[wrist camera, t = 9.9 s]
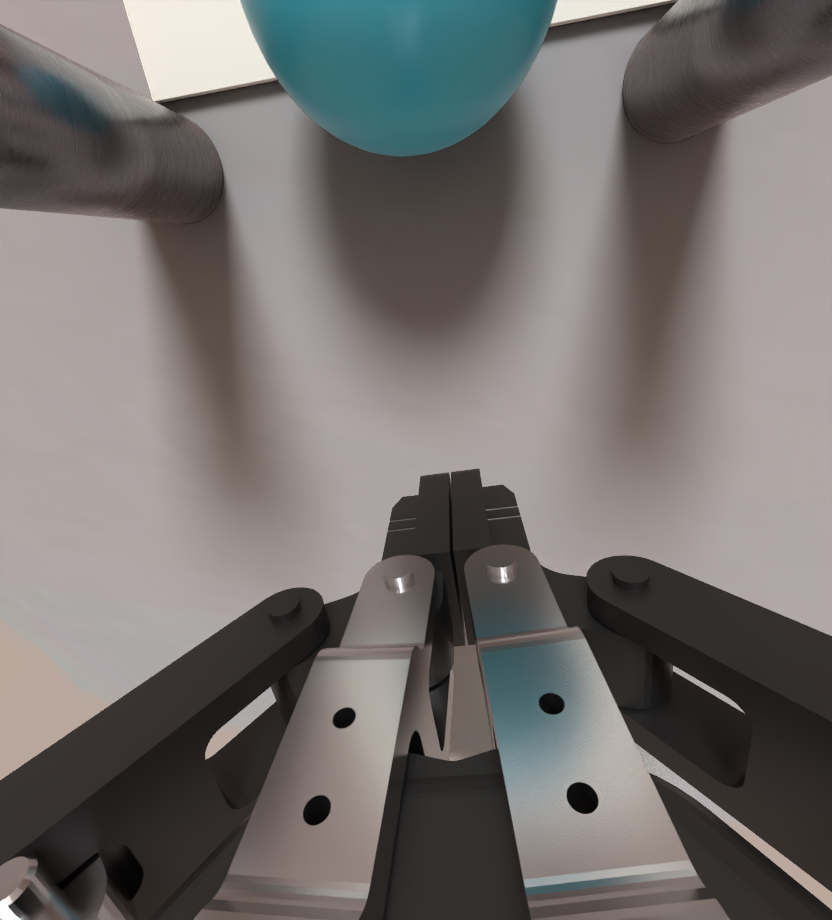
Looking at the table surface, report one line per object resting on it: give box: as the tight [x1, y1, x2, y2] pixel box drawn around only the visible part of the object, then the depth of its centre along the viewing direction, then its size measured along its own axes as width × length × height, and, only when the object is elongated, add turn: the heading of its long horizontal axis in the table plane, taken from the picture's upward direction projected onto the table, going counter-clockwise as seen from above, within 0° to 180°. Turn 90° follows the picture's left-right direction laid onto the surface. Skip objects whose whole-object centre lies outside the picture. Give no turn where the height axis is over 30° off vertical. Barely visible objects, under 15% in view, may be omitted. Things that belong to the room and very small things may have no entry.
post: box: [0, 24, 223, 224], centre depth 9 cm, size 3×3×9 cm
